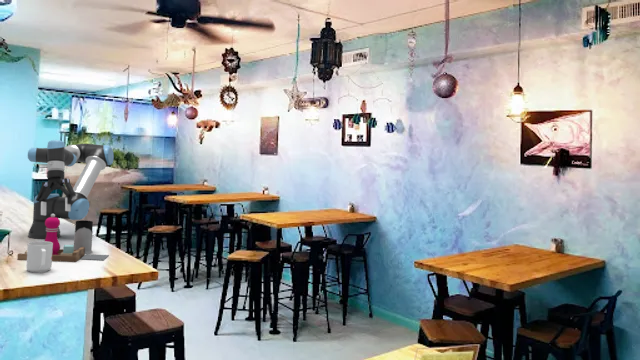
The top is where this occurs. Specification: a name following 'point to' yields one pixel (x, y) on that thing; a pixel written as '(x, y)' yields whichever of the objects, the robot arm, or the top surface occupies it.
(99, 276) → the top surface
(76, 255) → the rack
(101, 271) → the top surface
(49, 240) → the pepper mill
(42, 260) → the mug
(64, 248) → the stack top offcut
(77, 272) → the top surface
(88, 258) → the mat
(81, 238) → the glass holder
